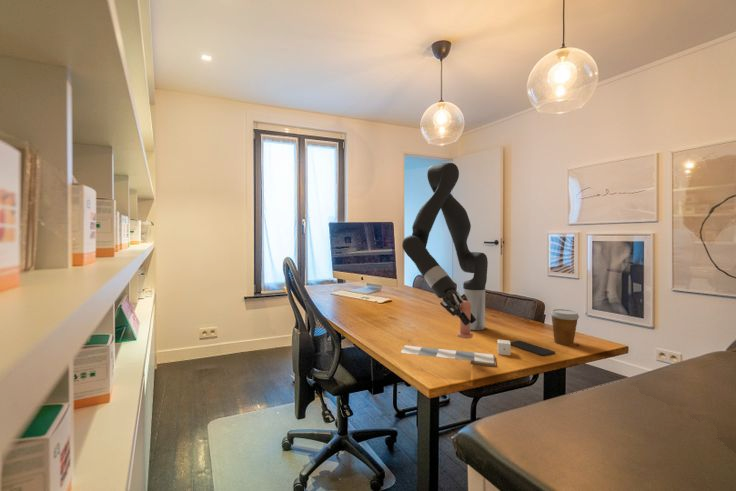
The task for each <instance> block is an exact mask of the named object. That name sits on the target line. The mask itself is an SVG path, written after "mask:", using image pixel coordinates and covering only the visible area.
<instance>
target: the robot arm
mask: <svg viewBox="0 0 736 491" xmlns="http://www.w3.org/2000/svg"><path fill="white" fill-rule="evenodd" d="M426 174H427V176H426V178H427V180H428V184H429V186H430V188H431V190H432V192H433V193H432V195H431V196H430V197H429V198H428V200H426V201H425V203H424V204H423V205H422V206H421V207H420V209H419V210H418V212H417V214H416V216H415V219H414V221H413V224H412V234H410V235H408V236H406V237H404V239H403V241H402V243H401V244H402V250H403V251H404V253H405V254H406V255H407V256H408V257H409V258H410V259H411V261H412V262H413V263H414V265H415V266H416V268H417V270H418V271H419V273H420V274H421V275H422V277H423V278H424V280H425V281H426V283H427V285H428V286H429V288H430V289H431V290H432V291H433V293H434V295H436V297H437V298H438V299H442V301H441V302H440V305H441V306H442V307H443V309H445V310H446V311H447V312H448V313H450V315H451V316H453V317H454V316H456V317H458V318H459V320H460V319H461V321H462V322H463V323H464V325H468V324H469V323H470V331H482V330H485V323H486V322H485V321H486V320H485V318H486V285H487V281H488V280H487V279H488V267H489V266H488V265H489V264H488V263H489V261H488V257H487V255H486V253H484V252H479V251H478V252H477V251H475V252H474V251H471V250H470V249H469V247H468V238H469V235H470V232H471V226H472V225H471V221H470V220H471V219H470V218H469V216H468V213H467V211H466V208H464V206H463V205H462V204H461V203H460V202H459V201H458V200H457V199H456V198H455V197H454V196H453V195H452V191H453V189H454V188H455V186H456V184H457V183H458V180H459V178H460V177H459V176H460V171H459V168H458V166H457V164H456V163H454V162H444V163H437V164H432V165H431V166H429V167H428V170H427V173H426ZM440 210H441V212H442V215H443V218H444V220H445V224H446V226H447V229H448V231H449V234H450V236H451V240H452V242H453V245H454V249H455V251H456V257H457V261H458V265H459V267H460V269H461V270H462V272H464V273H469V274H473V276H472V278H471V279H469V280H466V281H464V282H463V284H462V286H463V288H462V292H463V293H462V294H460V293H459V292H458V291H457V290H456V288H457V285H456V283H455V282H454V281H453V280H452V278H451V277H450V276H449V274H448V272H446V271H445V269H444V268H443V267H442V266H441V265H440V264H439V262H437V260H436V259H435V258H434V257H433V256H432V254H431V253H430V251H429V250H428V248H427V245H428V242H429V241H428V240H429V237H430V232H431V231H432V228H433V227H434V223H435V221H436V219H437V216H438V214H439V213H440ZM463 301H469V302H470V304H471V321H470V320H469V318H468V317H467V316H466V314H465V313H464V312H463V310H462V309H461V306H460V305H461V303H462V302H463Z"/></svg>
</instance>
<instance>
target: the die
mask: <svg viewBox="0 0 736 491" xmlns="http://www.w3.org/2000/svg"><path fill="white" fill-rule="evenodd" d="M510 342H511V341H510V340H508V339H507V340H506V339H497V346H496V347H497V354H498V355H502V356H511V347H512V346H511V344H510Z"/></svg>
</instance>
